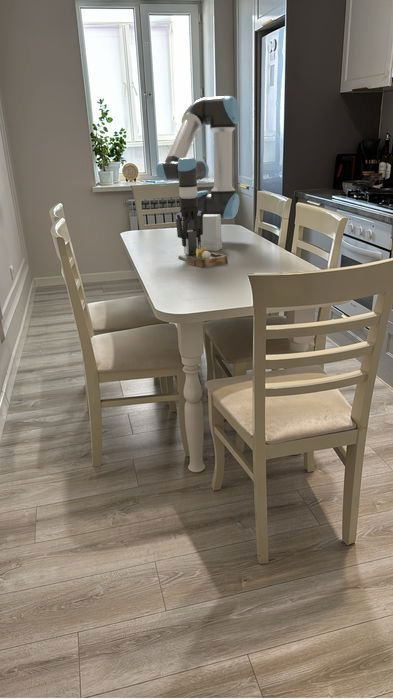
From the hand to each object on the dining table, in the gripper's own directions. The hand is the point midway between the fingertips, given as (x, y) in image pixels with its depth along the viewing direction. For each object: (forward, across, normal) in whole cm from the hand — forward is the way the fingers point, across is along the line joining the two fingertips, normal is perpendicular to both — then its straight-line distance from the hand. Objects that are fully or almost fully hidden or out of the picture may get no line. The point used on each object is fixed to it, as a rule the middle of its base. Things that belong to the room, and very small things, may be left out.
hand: (191, 252), depth 225 cm
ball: (-1, 0, +12) cm, 12 cm away
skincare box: (+2, -16, -8) cm, 18 cm away
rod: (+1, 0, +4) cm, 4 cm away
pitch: (+2, 0, +8) cm, 8 cm away
